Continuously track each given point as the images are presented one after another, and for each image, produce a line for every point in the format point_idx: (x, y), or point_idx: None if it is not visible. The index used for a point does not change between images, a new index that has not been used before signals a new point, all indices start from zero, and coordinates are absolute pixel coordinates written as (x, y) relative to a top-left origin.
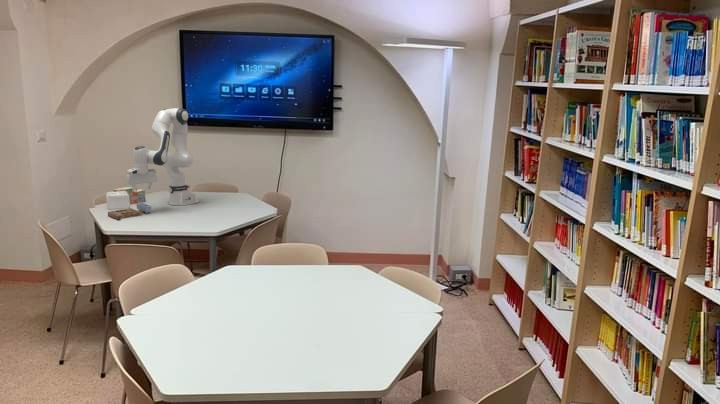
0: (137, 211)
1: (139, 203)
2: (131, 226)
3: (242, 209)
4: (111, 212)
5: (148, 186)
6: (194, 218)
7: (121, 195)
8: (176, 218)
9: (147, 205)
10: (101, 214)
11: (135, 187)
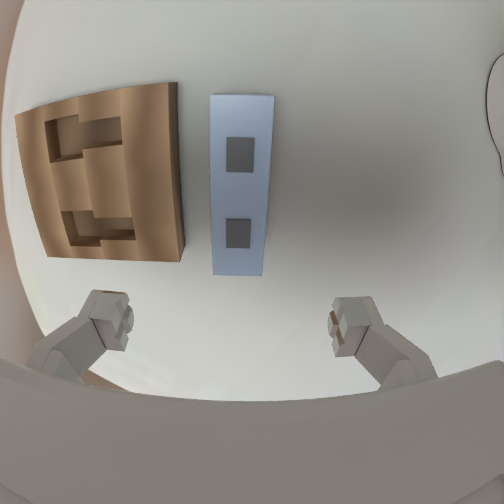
0: (165, 226)
1: (236, 111)
2: (106, 350)
3: (488, 351)
4: (26, 151)
5: (356, 337)
6: (342, 381)
7: None
8: (300, 360)
9: (248, 247)
10: (21, 51)
11: (95, 359)
